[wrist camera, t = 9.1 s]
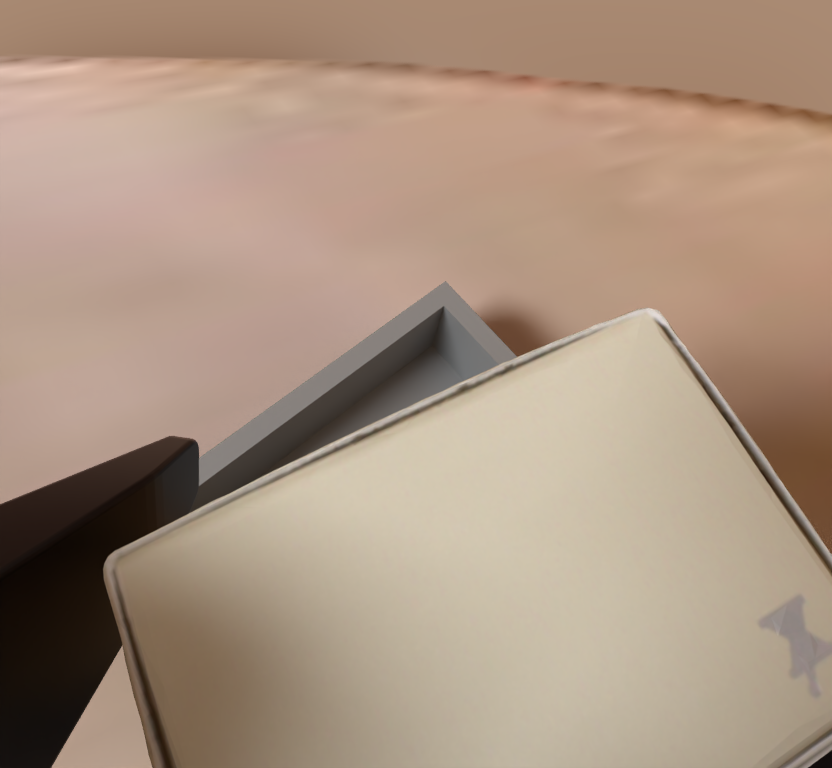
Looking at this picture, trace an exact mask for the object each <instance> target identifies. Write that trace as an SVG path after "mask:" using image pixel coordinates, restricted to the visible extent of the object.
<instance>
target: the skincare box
mask: <svg viewBox="0 0 832 768" xmlns="http://www.w3.org/2000/svg"><path fill="white" fill-rule="evenodd" d="M103 573H104V582H105V585H106V589H107V592H108V595H109V599H110V602H111V606H112V609H113V612H114V616H115V619H116V623H117V626H118V629H119V633H120V636H121V640H122V645H123V650H124V656H125V661H126V665H127V669H128V673H129V678H130V682H131V686H132V690H133V694H134V698H135V701H136V705H137V708H138V711H139V715H140V718H141V722H142V726H143V730H144V734H145V739H146V744H147V749H148V753H149V757H150V760H151V764H152V767H153V768H808V767H809V766H811V765H812V764H813V763H815V762H816V761H818V760H819V759H820V758H822V757H823V756H825V755H826V754H827V753H829V752H830V751H831V750H832V555H831V553H830V552H829V550H828V549H827V547H826V546H825V544H824V543H823V541H822V540H821V538H820V537H819V535H818V534H817V532H816V531H815V529H814V527H813V526H812V524H811V523H810V521H809V520H808V519H807V517H806V516H805V514H804V513H803V511H802V510H801V509H800V507H799V506H798V504H797V503H796V501H795V500H794V499H793V497H792V496H791V495H790V493H789V492H788V490H787V489H786V487H785V486H784V484H783V483H782V481H781V480H780V478H779V477H778V475H777V474H776V472H775V471H774V470H773V468H772V467H771V465H770V463H769V462H768V460H767V459H766V457H765V456H764V454H763V453H762V451H761V450H760V448H759V447H758V446H757V444H756V443H755V441H754V440H753V438H752V437H751V436H750V434H749V433H748V431H747V430H746V429H745V427H744V426H743V424H742V423H741V421H740V420H739V419H738V417H737V416H736V414H735V413H734V411H733V410H732V409H731V407H730V406H729V404H728V403H727V401H726V400H725V398H724V397H723V395H722V394H721V393H720V392H719V390H718V389H717V388H716V386H715V385H714V383H713V382H712V381H711V379H710V378H709V376H708V375H707V373H706V372H705V371H704V370H703V369H702V367H701V366H700V365H699V364H698V363H697V361H696V360H695V359H694V358H693V357H692V356H691V354H690V353H689V351H688V350H687V348H686V347H685V346H684V344H683V343H682V342H681V341H680V340H679V338H678V336H677V335H676V333H675V332H674V330H673V329H672V327H671V326H670V324H669V323H668V321H667V320H666V319H665V318H664V316H663V315H662V314H661V313H660V312H659V311H658V310H655V309H651V308H642V309H637V310H634V311H631V312H629V313H626V314H624V315H621V316H619V317H616V318H614V319H611V320H608V321H605V322H602V323H599V324H597V325H594V326H592V327H590V328H587V329H585V330H582V331H580V332H577V333H575V334H572V335H570V336H567V337H564V338H562V339H559V340H556V341H554V342H552V343H550V344H547V345H545V346H543V347H540V348H538V349H535V350H532V351H530V352H528V353H525V354H523V355H521V356H519V357H516V358H514V359H512V360H510V361H507V362H504V363H502V364H500V365H497V366H495V367H493V368H491V369H489V370H487V371H485V372H482V373H480V374H478V375H476V376H474V377H471V378H469V379H467V380H465V381H462V382H460V383H458V384H456V385H454V386H452V387H450V388H448V389H446V390H444V391H442V392H440V393H437V394H435V395H432V396H430V397H428V398H425V399H423V400H421V401H419V402H417V403H415V404H413V405H411V406H409V407H407V408H405V409H402V410H400V411H398V412H396V413H394V414H392V415H389V416H387V417H385V418H383V419H381V420H379V421H376V422H374V423H372V424H370V425H368V426H366V427H364V428H361V429H359V430H357V431H355V432H353V433H351V434H349V435H347V436H345V437H343V438H340V439H338V440H336V441H334V442H332V443H330V444H328V445H326V446H324V447H322V448H320V449H318V450H316V451H314V452H312V453H310V454H308V455H306V456H304V457H301V458H299V459H297V460H295V461H293V462H291V463H289V464H287V465H285V466H283V467H281V468H279V469H276V470H274V471H272V472H270V473H268V474H266V475H264V476H262V477H260V478H258V479H256V480H255V481H253V482H251V483H249V484H247V485H245V486H243V487H241V488H239V489H237V490H235V491H233V492H232V493H230V494H227V495H225V496H223V497H221V498H218V499H216V500H214V501H212V502H210V503H208V504H206V505H204V506H202V507H200V508H199V509H197V510H195V511H193V512H191V513H189V514H187V515H185V516H183V517H181V518H179V519H177V520H175V521H173V522H171V523H169V524H168V525H166V526H164V527H162V528H160V529H158V530H156V531H154V532H152V533H150V534H148V535H146V536H144V537H142V538H140V539H138V540H136V541H134V542H132V543H130V544H128V545H126V546H124V547H122V548H120V549H118V550H115V551H114V552H113V553H112V554H110V555H109V556H108V557H107V559H106V561H105V563H104V568H103Z"/></svg>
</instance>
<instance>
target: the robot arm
mask: <svg viewBox="0 0 832 768" xmlns="http://www.w3.org/2000/svg"><path fill="white" fill-rule="evenodd" d="M198 488H199V447H198V443H197V442H196V441H195V440H194V439H190V438H183V437H176V436H169V437H166V438H164V439H161V440H159V441H156V442H154V443H151V444H149V445H146V446H144V447H141V448H139V449H136V450H134V451H131V452H129V453H126V454H124V455H121V456H119V457H116V458H114V459H111V460H109V461H107V462H104V463H102V464H99V465H97V466H94V467H92V468H89V469H87V470H84V471H82V472H79V473H77V474H74V475H72V476H69V477H67V478H64V479H62V480H59V481H57V482H54V483H52V484H49V485H47V486H44V487H42V488H39V489H37V490H35V491H32V492H30V493H27V494H25V495H22V496H20V497H17V498H15V499H12V500H10V501H7V502H5V503H2V504H0V768H51V767H52V765H53V764H54V762H55V760H56V758H57V757H58V755H59V753H60V751H61V750H62V748H63V746H64V745H65V743H66V741H67V739H68V738H69V736H70V734H71V733H72V731H73V729H74V727H75V726H76V724H77V722H78V720H79V719H80V717H81V715H82V714H83V712H84V710H85V708H86V707H87V705H88V703H89V702H90V700H91V698H92V696H93V695H94V693H95V691H96V689H97V688H98V686H99V684H100V683H101V681H102V679H103V677H104V676H105V674H106V672H107V671H108V669H109V667H110V665H111V664H112V662H113V660H114V658H115V657H116V655H117V653H118V652H119V650H120V648H121V646H122V640H121V636H120V633H119V629H118V626H117V623H116V619H115V616H114V612H113V609H112V606H111V602H110V599H109V595H108V592H107V589H106V585H105V582H104V573H103V568H104V563H105V561H106V559H107V557H108V556H109V555H110V554H112V553H113V552H114V551H115V550H118V549H120V548H122V547H124V546H126V545H128V544H130V543H132V542H134V541H136V540H138V539H140V538H142V537H144V536H146V535H148V534H150V533H152V532H154V531H156V530H158V529H160V528H162V527H164V526H166V525H168V524H169V523H171V522H173V521H175V520H177V519H179V518H181V517H183V516H185V515H187V514H189V512H190V510H191V508H192V505H193V503H194V501H195V498H196V496H197V493H198ZM808 768H832V750H831V751H830V752H829V753H827V754H826V755H825V756H823V757H822V758H820V759H819V760H818V761H816V762H815V763H813V764H812V765H811V766H809V767H808Z"/></svg>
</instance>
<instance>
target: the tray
mask: <svg viewBox="0 0 832 768" xmlns="http://www.w3.org/2000/svg"><path fill="white" fill-rule="evenodd" d="M516 357H517V356H516V355H515V354H514V353H513V352H512V351H511V350H510V349H509V348H508V347H507V346H506V344H505V343H504V342H503V341H502V340H501V339H500V338H499V337H498V336H497V335H496V334H495V333H494V332H493V331H492V330H491V329H490V328H489V327H488V325H487V324H486V323H485V322H484V321H483V320H482V319H481V318H480V317H479V316H478V315H477V314H476V313H475V312H474V311H473V310H472V309H471V308H470V306H469V305H468V304H467V303H466V302H465V301H464V300H463V299H462V298H461V297H460V296H459V295H458V294H457V293H456V292H455V291H454V290H453V288H452V287H451V286H450V285H449V284H448V283H447V282H446V281H445V282H444V283H442V284H441V285H439V286H438V287H437V288H435V289H434V290H433V291H431V292H430V293H428V294H427V295H426V296H424V297H423V298H421V299H420V300H419V301H417V302H416V303H414V304H413V305H412V306H410V307H409V308H407V309H406V310H405V311H403V312H402V313H401V314H399V315H398V316H396V317H395V318H394V319H392V320H391V321H389V322H388V323H387V324H385V325H384V326H382V327H381V328H380V329H378V330H377V331H375V332H374V333H373V334H371V335H370V336H368V337H367V338H366V339H364V340H363V341H362V342H360V343H359V344H357V345H356V346H355V347H353V348H352V349H350V350H349V351H348V352H346V353H345V354H343V355H342V356H341V357H339V358H338V359H336V360H335V361H334V362H332V363H331V364H330V365H328V366H327V367H325V368H324V369H323V370H321V371H320V372H318V373H317V374H316V375H314V376H313V377H311V378H310V379H309V380H307V381H306V382H304V383H303V384H302V385H300V386H299V387H297V388H296V389H295V390H293V391H292V392H291V393H289V394H288V395H286V396H285V397H284V398H282V399H281V400H279V401H278V402H277V403H275V404H274V405H272V406H271V407H270V408H268V409H267V410H265V411H264V412H263V413H261V414H260V415H259V416H257V417H256V418H254V419H253V420H252V421H250V422H249V423H247V424H246V425H245V426H243V427H242V428H240V429H239V430H238V431H236V432H235V433H233V434H232V435H231V436H229V437H228V438H226V439H225V440H224V441H222V442H221V443H220V444H218V445H217V446H215V447H214V448H213V449H211V450H210V451H208V452H207V453H206V454H204V455H203V456H201V457H200V458H199V488H198V493H197V496H196V498H195V501H194V503H193V505H192V508H191V510H190V512H189V513H191V512H193V511H195V510H197V509H199V508H200V507H202V506H204V505H206V504H208V503H210V502H212V501H214V500H216V499H218V498H221V497H223V496H225V495H227V494H230V493H232V492H233V491H235V490H237V489H239V488H241V487H243V486H245V485H247V484H249V483H251V482H253V481H255V480H256V479H258V478H260V477H262V476H264V475H266V474H268V473H270V472H272V471H274V470H276V469H279V468H281V467H283V466H285V465H287V464H289V463H291V462H293V461H295V460H297V459H299V458H301V457H304V456H306V455H308V454H310V453H312V452H314V451H316V450H318V449H320V448H322V447H324V446H326V445H328V444H330V443H332V442H334V441H336V440H338V439H340V438H343V437H345V436H347V435H349V434H351V433H353V432H355V431H357V430H359V429H361V428H364V427H366V426H368V425H370V424H372V423H374V422H376V421H379V420H381V419H383V418H385V417H387V416H389V415H392V414H394V413H396V412H398V411H400V410H402V409H405V408H407V407H409V406H411V405H413V404H415V403H417V402H419V401H421V400H423V399H425V398H428V397H430V396H432V395H435V394H437V393H440V392H442V391H444V390H446V389H448V388H450V387H452V386H454V385H456V384H458V383H460V382H462V381H465V380H467V379H469V378H471V377H474V376H476V375H478V374H480V373H482V372H485V371H487V370H489V369H491V368H493V367H495V366H497V365H500V364H502V363H504V362H507V361H510V360H512V359H514V358H516Z"/></svg>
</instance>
